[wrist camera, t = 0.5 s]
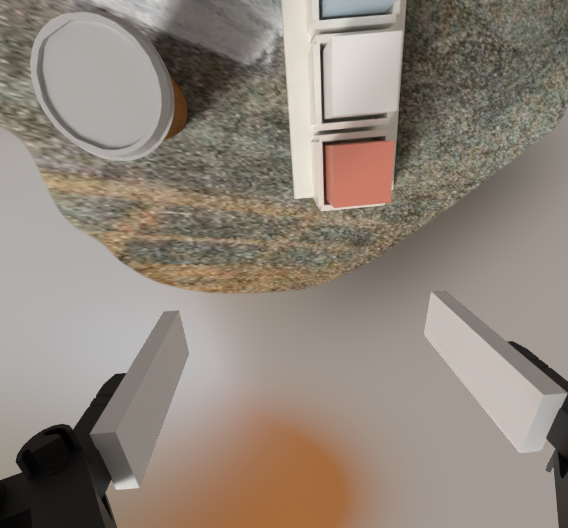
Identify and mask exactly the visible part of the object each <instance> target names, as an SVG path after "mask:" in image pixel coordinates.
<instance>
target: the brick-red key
mask: <svg viewBox="0 0 568 528" xmlns="http://www.w3.org/2000/svg"><path fill="white" fill-rule="evenodd" d="M394 145H395V141H383V140H378V141H367V142H356V143H345V144H334V145H325V170H326V200H327V201H328V202H329V203H330V204H331V206H332V207H333V208H340V207H350V206H361V205H371V204H382V203H391V189H392V174H393V160H394Z"/></svg>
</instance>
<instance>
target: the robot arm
mask: <svg viewBox="0 0 568 528" xmlns="http://www.w3.org/2000/svg"><path fill="white" fill-rule="evenodd" d="M424 335H425V337H426V338H427V339H428V340H429V341H430V343H431V344H432V345H433V346H434V348H435V349H436V350H437V351H438V353H439V354H440V355H441V356H442V357H443V359H444V360H445V361H446V362H447V364H448V365H449V366H450V367H451V369H452V370H453V371H454V372H455V373H456V375H457V376H458V377H459V379H460V380H461V381H462V382H463V384H464V385H465V386H466V387H467V389H468V390H469V391H470V392H471V394H472V395H473V396H474V397H475V398H476V399H477V401H478V402H479V403H480V405H481V406H482V407H483V408H484V410H485V411H486V412H487V413H488V415H489V416H490V417H491V418H492V420H493V421H494V422H495V423H496V424H497V426H498V427H499V428H500V429H501V431H502V432H503V433H504V434H505V435H506V437H507V438H508V439H509V441H510V442H511V443H512V444H513V446H514V447H515V448H516V449H517V450H518V452H519V453H524V452H535V451H541V450H542V448H543V445H544V443H545V441H546V439H547V440H548V441H549V442H550V443H551V444H552V445H553V446H554V447H555V448H556V449H555V451H554V453H553V455H552V457H551V459H550V461H549V463H548V465H547V468H546V471H548V472H551V470H552V468H553V467H554V475H555V487H556V499H557V511H558V522H559V528H568V381H566V380H565V379H564V378H563V377H561V376H560V375H559V374H558V373H556V372H555V371H554V370H553V369H551V368H549V367H548V365H546V364H545V363H544V362H543V361H541V360H539V358H538V357H537V356H535V355H534V354H533V353H532V352H530V351H529V350H528V349H526V348H524V347H522V346H520V345H519V344H517V343H515V342H513V341H511V342H506V341H505V340H504V339H503V338H502V337H500V336H499V335H498V334H497V333H496V332H495V331H493V330H492V329H491V328H489V326H487V325H486V324H485V323H484V322H483V321H481V320H480V319H479V318H478V317H477V316H475V315H474V314H473V313H472V312H471V311H470V310H468V309H467V308H466V307H465V306H464V305H462V304H461V303H460V302H459V301H457V300H456V299H455V298H454V297H453V296H452V295H450V294H449V293H448V292H447V291H432V292H431V297H430V302H429V308H428V314H427V320H426V326H425V332H424ZM188 354H189V351H188V347H187V343H186V338H185V334H184V330H183V326H182V321H181V317H180V313H179V311H166V312H163V314H162V316H161V317H160V319H159V321H158V322H157V324H156V325H155V327H154V329H153V330H152V332H151V334H150V335H149V337H148V339H147V340H146V342H145V344H144V345H143V347H142V349H141V350H140V352H139V354H138V355H137V357H136V359H135V360H134V362H133V364H132V365H131V367H130V368H129V370H128V372H127V373H122V374H115V375H114V376H113V377H111V378H110V379H109V380H108V381H107V382H106V383H105V384H104V385H103V386H102V387H101V389H100V391H99V392H98V393H97V395H96V398H94V399H93V401H92V402H91V404H90V407H88V408H87V410H86V411H85V413H84V414H83V416H82V417H81V419H80V420H79V422H78V423H77V425H76V426H75V428H74V429H72V428H71V427H70V426H69V425H65V424H60V425H54V426H51V427H49V428H47V429H44V430H42V431H41V432H39V433H38V434H36V435H35V436H33V437H32V438H31V439H30V440H29V441H28V442H27V443H25V445H24V446H23V447H22V448H21V450H20V451H19V453H18V455H17V458H16V463H17V465H18V466H19V468H20V469H21V471H22V473H19V474H16V475H14V476H11V477H8V478H5V479H2V480H0V528H117V526H116V523H115V520H114V517H113V513H112V510H111V507H110V504H109V501H108V498H107V496H106V494H105V492H106V490H107V488H108V485H109V483H110V481H111V480H112V482H113V484H114V486H115V488H116V490H120V489H131V488H139V487H140V485H141V482H142V479H143V477H144V474H145V471H146V468H147V466H148V463H149V460H150V458H151V455H152V452H153V449H154V447H155V444H156V441H157V439H158V436H159V433H160V430H161V428H162V425H163V422H164V419H165V417H166V414H167V412H168V409H169V406H170V403H171V400H172V398H173V395H174V392H175V390H176V387H177V384H178V382H179V379H180V376H181V374H182V371H183V368H184V365H185V363H186V360H187V357H188Z"/></svg>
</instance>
